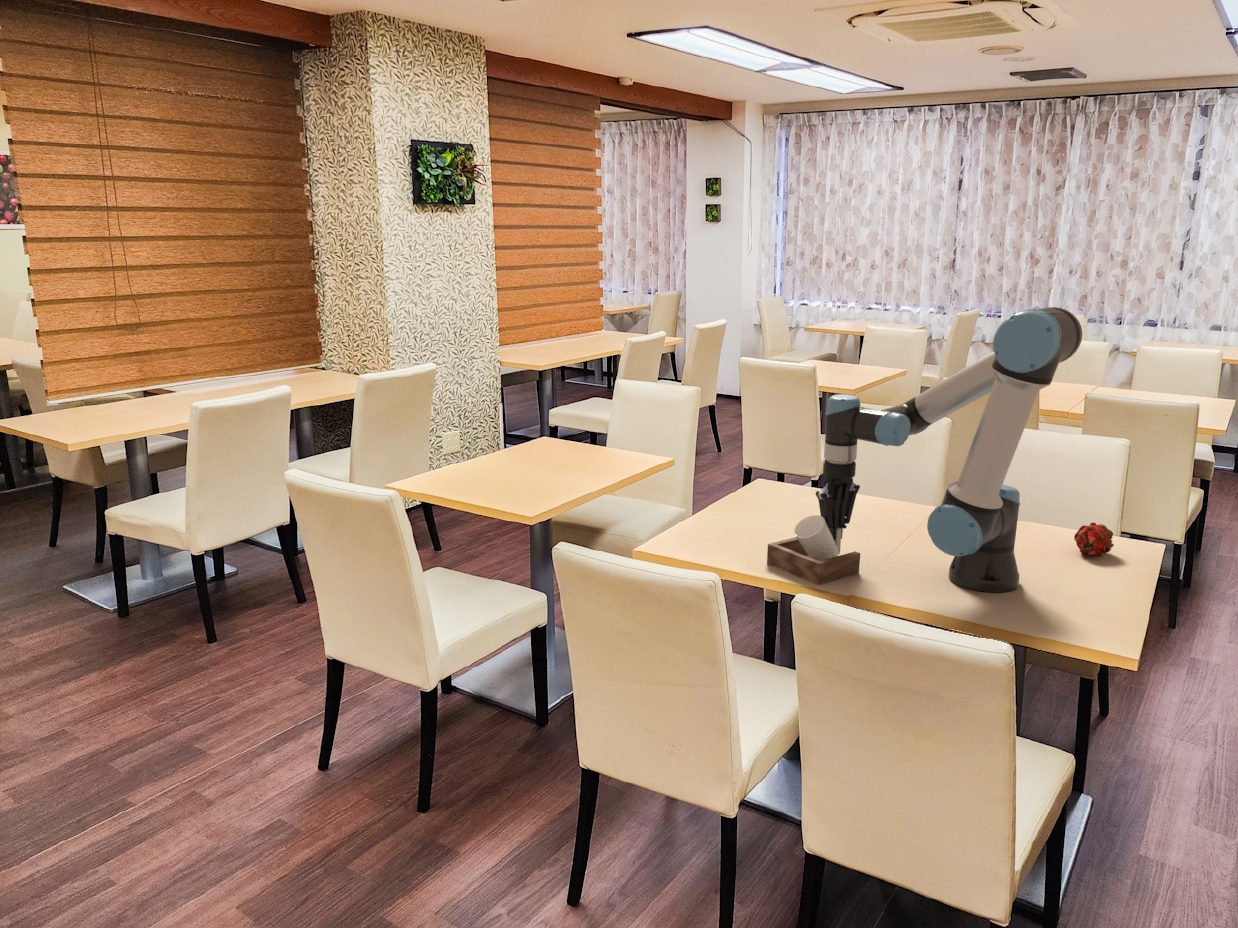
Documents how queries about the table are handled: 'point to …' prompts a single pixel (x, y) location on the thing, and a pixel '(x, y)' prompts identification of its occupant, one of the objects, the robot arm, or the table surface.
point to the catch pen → (811, 562)
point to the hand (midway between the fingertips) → (834, 552)
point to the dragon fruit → (1094, 539)
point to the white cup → (816, 538)
